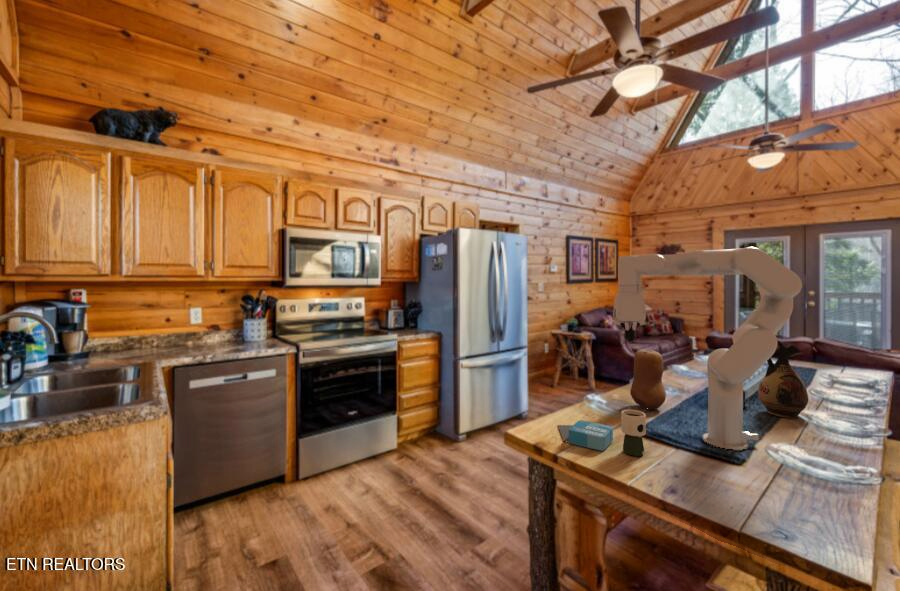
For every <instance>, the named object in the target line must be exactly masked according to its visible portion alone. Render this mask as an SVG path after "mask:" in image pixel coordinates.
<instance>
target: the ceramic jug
mask: <svg viewBox="0 0 900 591" xmlns="http://www.w3.org/2000/svg"><path fill="white" fill-rule="evenodd" d="M777 342H778V344H777V347H778V348H776V350H775V352H774V354H773V355H772V356H775V357H777V359H776V361H775V363H773V362H774V361H773V359H772V358H771V357H770V358H769V359H768V360H767V361H766V362H767V369H766V372H765V375H764V376H763V378H762V379H761V380H760V382H759V385H758V392H757V395H758V399H759V401H760V403H761V404H762V405H763V407H765V408H766V413H768V414H771V415H774V416H775V417H780V418H784V419H785V418H786V419H789V420H790V419H792V420H793V419H798V418H799V414H800V413H802V412H803V411H804V410H805V409H806V408H807V406H808V403H809V394H808V391H807V387H806V385H805V383H804V382H803V380H802V379H801V377H800V376H799V374H798V372H796V370H795V369H794V367H792V365H791V363H790V360H789V358H791V357H794V356H796V355H797V356H798V355H800V354H803V353H804V352H803V351H802V350H801V349H799V348H798V347H797V346H795V345H793V344H789V345H787V346H786V345H785V344H784V343H783V342H782V341H781V340H778V339H777Z"/></svg>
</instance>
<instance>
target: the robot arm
mask: <svg viewBox="0 0 900 591" xmlns="http://www.w3.org/2000/svg"><path fill="white" fill-rule="evenodd" d="M617 262H618V264H617V268H618V270H617V276H618V279H617V281H618V282H617V283H618V284H617V285H618V286H617V288H618V289H617V290H618V291H617V293H616V294H615V296H614V302H613V311H612V312H613V314H612V315H613V317H612V318H613V324H614V325H617V326H619V327H621V328H622V329H623V330H624V339H625V341H626V342H634V340H635V339H636V338H635V335H636V334H635V331H636V330H637V328H639V326H644V325H646V324H647V322H646V319H647V312H646V303H645V296H644V294H643V293H642V292H643V291H646V286H643V285H642V276H643V275H644V276H645V275H646V276H654V277H655V276H656V277H657V276H692V277H700V276H701V277H702V276H733V275H735V276H736V275H742V276H743V275H745V276H746V277H747V278H748V279H749V280H751V281H753V283H754V284H756V287H757V290H758V292H759V296H760V302H759V303H758V306H757V307H756V308H755V310H754V311H753V312H752V313H751V314H750V315H749V317H747V318H746V320H744V321H743V323H741V325H740V326H739V327H738V328H736V330H735V331H734V332H733V334H732V343H733V344H732V345H731V346H730V347H729V348H724V347H723V348H717V349H715V350H713V351H712V352H711V353H709V356H708V357H707V360H706V361H707V364H706V366H707V367H706V368H707V379H708V380H707V383H708V386H707V387H708V391H707V392H708V394H707V396H708V398H707V399H708V401H707V407H708V408H707V414H708V415H707V432H706V433H704V434H702V441H704V443H706V442H707V443H706V444H708V443H709V444H708V445H710V444H711V445H710V446H712V445H713V446H712V447H715V446H716V448H718V447H720V448H719V449H722V448H725V449H724V450H727V449H733V450H732V451H744V450H743V449H745V450H747V449H748V448H749V443H748V441H750V440H752V441H759V439H760V435H759V434H758V433H750V432H749V431H744V430H743V426H744V422H743V421H744V417H743V416H744V413H743V412H744V409H743V408H744V384H743V383H744V382H746V381H748V380H749V379H750V378H751V377H752V376H753V375H754V374H755V373H756V372H758V371H759V370H760V369H761V367H762V366H764V365H765V363H766V362H767V360H768V359H769V358H771V357H772V356H774V355H773V354H774V352H775V351H776V350H777V349H778V348H777V347H778V345H777V344H778V342H777V340H778V338H777V336H776V334H777V333H778V332H779V331H780V330H781V329H782V328H783V326H784V325H785V324H786V323H787V322H788V321H789V319H790V317H791V315H792V313H793V310H794V298H795V297H796V296H797V295H799V294H800V293H801V290H802V287H803V283H802V282H803V281H802V279H801V278H800V276H799V275H798V274H797V273H796V272H794V271H793V270H791V269H790V268H788V267H787V266H786V265H784V264H783V263H781V262H780V261H778V260H777V259H775V258H774V257H773V256H771V255H769V254H768V253H767V252H766V251H764V250H762V249H760V248H758V247H755V246H747V247H743V248H729V249H728V248H725V249H724V248H723V249H703V250H702V249H701V250H693V251H689V252H684V253H675V254H674V253H673V254H658V253H651V254H650V253H649V254H643V255H621V256H619V258H618V261H617ZM629 323H630V325H629ZM629 326H630V327H629Z"/></svg>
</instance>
